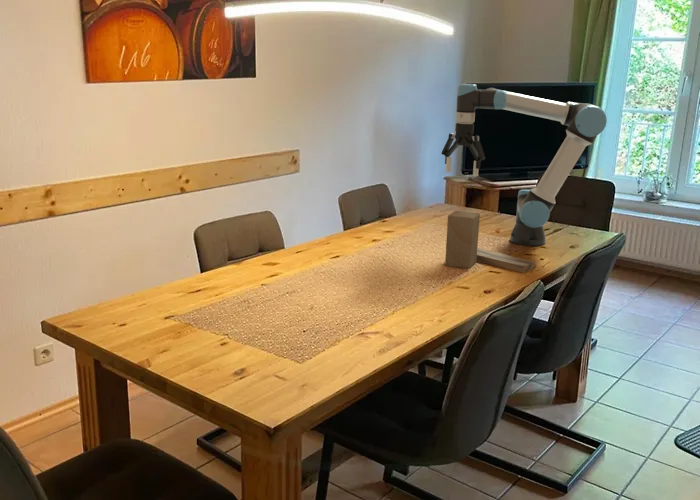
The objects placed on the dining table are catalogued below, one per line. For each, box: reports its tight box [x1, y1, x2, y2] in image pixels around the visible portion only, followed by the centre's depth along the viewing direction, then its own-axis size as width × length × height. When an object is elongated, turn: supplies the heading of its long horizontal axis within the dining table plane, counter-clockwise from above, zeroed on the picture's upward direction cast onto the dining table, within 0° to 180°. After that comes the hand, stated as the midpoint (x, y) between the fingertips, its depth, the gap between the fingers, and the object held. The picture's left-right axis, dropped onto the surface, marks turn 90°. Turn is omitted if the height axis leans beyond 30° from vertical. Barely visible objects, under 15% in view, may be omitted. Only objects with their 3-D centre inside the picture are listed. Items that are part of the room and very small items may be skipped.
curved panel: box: [476, 247, 537, 273], centre depth 273 cm, size 9×28×4 cm, turn 47°
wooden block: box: [444, 210, 481, 269], centre depth 268 cm, size 10×10×20 cm
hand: (461, 174), depth 288 cm, fingers open, 13 cm apart
